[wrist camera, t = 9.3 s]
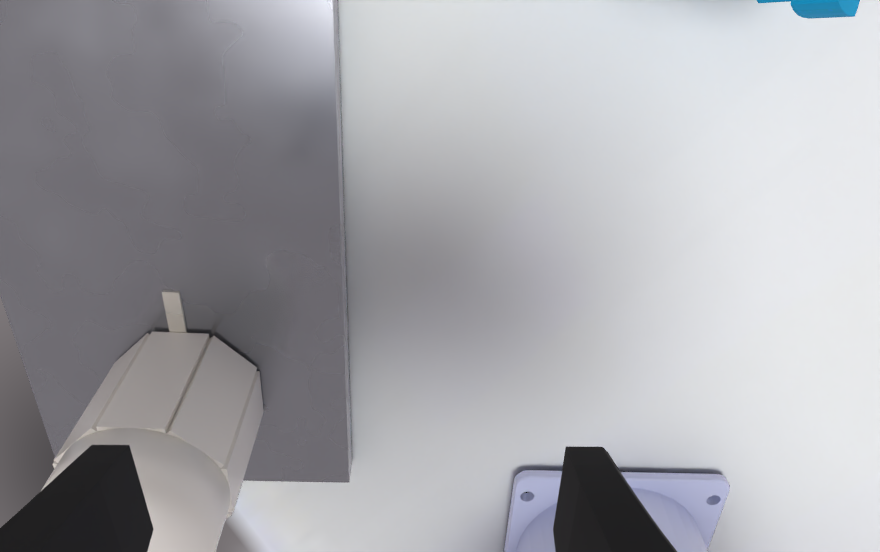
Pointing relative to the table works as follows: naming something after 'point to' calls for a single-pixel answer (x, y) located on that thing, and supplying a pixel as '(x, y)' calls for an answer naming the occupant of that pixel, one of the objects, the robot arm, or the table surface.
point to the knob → (177, 432)
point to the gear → (821, 7)
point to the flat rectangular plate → (179, 204)
